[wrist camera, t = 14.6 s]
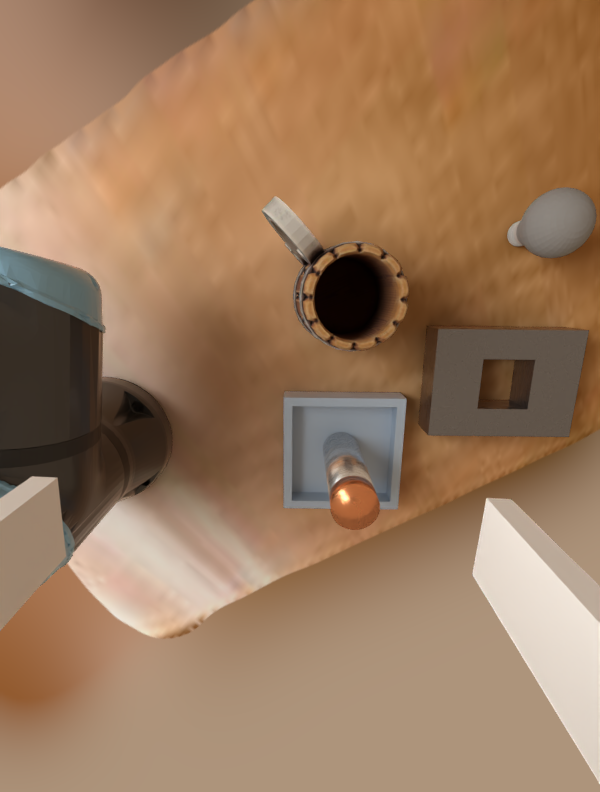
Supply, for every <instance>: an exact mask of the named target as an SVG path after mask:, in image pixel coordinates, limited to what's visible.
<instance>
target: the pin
mask: <svg viewBox="0 0 600 792" xmlns="http://www.w3.org/2000/svg"><path fill="white" fill-rule="evenodd" d="M323 455H324V463H325V470H326V478H327V485H328V493H329V500H330V507H331V514H332V516H333V518H334V520H335V521H336V522H337V523H338V524H339V525H340V526H342V527H344V528H347V529H351V530H358V529H363V528H365V527H367V526H369V525H371V524H372V523H373V522H374V521H375V520H376V518H377V517H378V514H379V511H380V503H379V499H378V497H377V494H376V491H375V489H374V486H373V483H372V481H371V478H370V475H369V473H368V470H367V467H366V464H365V462H364V459H363V456H362V454H361V451H360V448H359V446H358V443H357V441H356V439H355V438H354V437H353V436H352V435H350V434H348V433H345V432H337V433H334V434H332V435H330V436H329V437H328V438H327V439H326V440H325V442H324V445H323Z"/></svg>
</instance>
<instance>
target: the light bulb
mask: <svg viewBox="0 0 600 792" xmlns="http://www.w3.org/2000/svg"><path fill="white" fill-rule="evenodd" d="M595 222H596V209H595V205H594V203H593V201H592V200H591V198H590V197H589V196H588V195H587V194H585V193H584V192H582V191H580V190H577V189H574V188H557V189H554V190H551V191H548V192H547V193H545V194H543V195H541V196H540V197H538V198H537V199H536V200H535V201H534V202H533V203H532V204H531V205H530V206H529V207H528V208H527V210H526V211H525V213H524V215H523V217H522V220H521V221H518V222H516V223H514V224H513V225H512V226H511V227H510V228H509V230H508V234H507V237H508V241H509V242H510V244H512V245H513V246H523V245H524V246H525V247H526V248H527V249H528V250H529V251H530V252H531V253H533V254H535V255H537V256H540V257H545V258H557V257H562V256H565V255H568V254H570V253H572V252H574V251H575V250H576V249H578V248H579V247H580V246H582V245H583V244H584V243H585V242H586V240H587V239H588V238H589V236H590V235H591V233H592V231H593V229H594V226H595Z"/></svg>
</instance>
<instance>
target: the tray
mask: <svg viewBox="0 0 600 792" xmlns="http://www.w3.org/2000/svg"><path fill="white" fill-rule="evenodd" d="M406 402H407V399H406V398H405V397H404V396H403V395H402V394H401V393H400V392H306V391H285V392H284V508H314V509H331V507H330V500H329V493H328V485H327V478H326V470H325V463H324V455H323V445H324V442H325V440H326V439H327V438H328V437H329V436H330V435H332V434H334V433H337V432H345V433H348V434H350V435H352V436H353V437H354V438H355V439H356V441H357V443H358V446H359V448H360V451H361V454H362V456H363V459H364V462H365V464H366V467H367V470H368V473H369V475H370V478H371V481H372V483H373V486H374V489H375V491H376V494H377V497H378V499H379V503H380V509H398V502H399V489H400V477H401V464H402V452H403V439H404V427H405V414H406Z"/></svg>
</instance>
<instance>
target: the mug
mask: <svg viewBox="0 0 600 792" xmlns="http://www.w3.org/2000/svg"><path fill="white" fill-rule="evenodd" d="M262 213H263V214H264V216H265V217H266V219H267V220H268V222H269V223H270V224H271V226H272V227H273V228H274V229H275V231H276V232H277V233H278V234H279V236H280V237H281V238H282V239H283V241H284V242H285V245H286V247H287V248H288V249H289V250H290V252H291V253H292V254H293V255H294V256H295V257H296V258H297V259H298V260H299V261H300V262H301V263H302V264H303V265H304V266H303V267H302V269H301V270H300V272H299V274H298V276H297V279H296V281H295V285H294V292H293V300H294V308H295V311H296V314H297V316H298V319H299V321H300V322H301V323H302V325H303V326H304V328H305V329H306V330H307V331H308V332H309V333H311V334H312V335H313V336H314V337H315V338H317V339H319V340H321V341H322V342H323V343H325V344H326V345H329V346H331V347H333V348H335V349H338V350H344V351H360V350H367V349H370V348H373V347H375V346H377V345H378V344H380V343H381V342H384V341H386V340H387V339H389V338H390V337H391V336H392V335H393V334H394V333H395V332H396V330H397V327H398V325H399V323H401V322H402V321H403V319H404V317H405V315H406V313H407V308H408V303H407V297H408V296H409V284H408V281H407V278H406V276H404V274H403V271H402V267H401V266H400V264H399V262H398V261H397V260H396V259H395V258H394V257H393V256H392V255H391V254H389V253H387V252H386V251H385V250H384V249H382V248H380V247H378V246H376V245H373V244H371V243H365V242H359V241H354V242H345V243H341V244H338V245H336V246H333V247H330V248H328V249H325V250H324V249H323V248H322V246H321V244H320V243H319V242H318V240H317V239H316V238H315V236H314V235H313V234H312V233H311V231H310V230H309V229H308V228H307V227H306V225H305V224H304V223H303V222H302V221H301V220H300V218H299V217H298V216H297V215H296V214H295V213H294V212H293V211H292V210H291V209H290V208H289V207H288V206H287V205H286V204H285V203H284V202H283V201H282V200H281V199H279V198H278V197H276V196H275V197H274V198H273V199H272V200H271V201H270V202H269V203H268V204H267V205H266V206H265V207H264V208H263V209H262ZM303 271H304V274H303ZM297 294H298V296H297ZM301 317H303V319H302V318H301Z"/></svg>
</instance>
